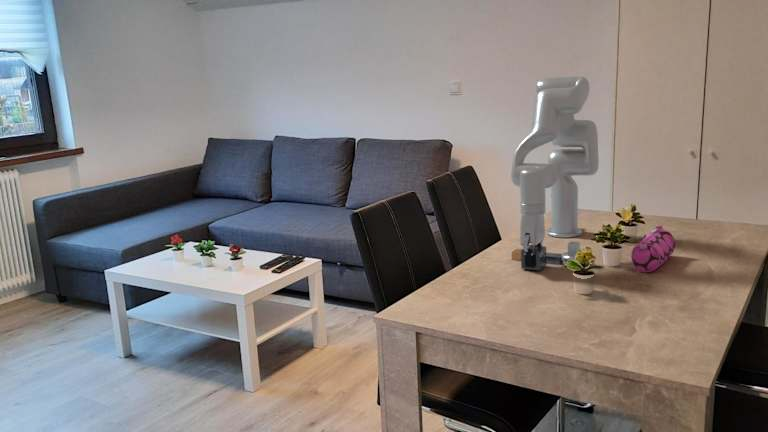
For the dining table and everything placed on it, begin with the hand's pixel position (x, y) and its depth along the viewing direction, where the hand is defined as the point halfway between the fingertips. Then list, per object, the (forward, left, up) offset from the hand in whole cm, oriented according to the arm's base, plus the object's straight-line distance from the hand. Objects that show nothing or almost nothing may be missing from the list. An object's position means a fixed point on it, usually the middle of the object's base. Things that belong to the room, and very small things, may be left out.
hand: (533, 263), depth 207 cm
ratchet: (-9, +2, -2) cm, 9 cm away
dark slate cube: (0, 0, -1) cm, 1 cm away
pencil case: (-17, +32, -2) cm, 36 cm away
